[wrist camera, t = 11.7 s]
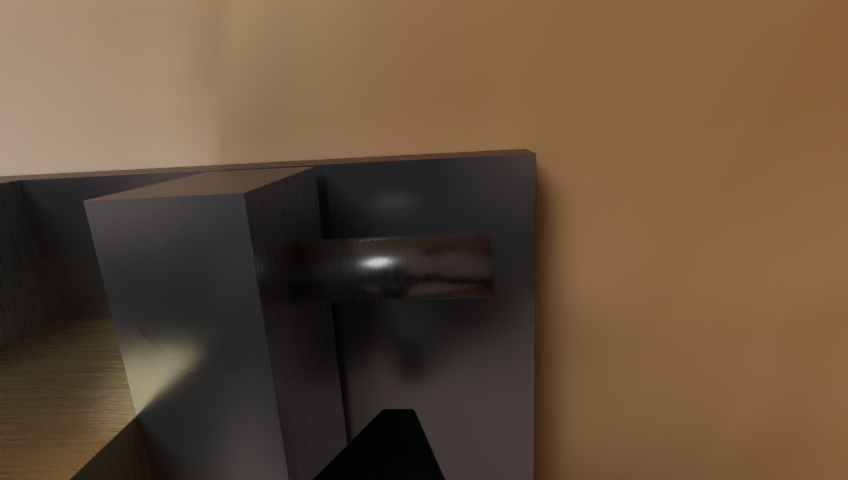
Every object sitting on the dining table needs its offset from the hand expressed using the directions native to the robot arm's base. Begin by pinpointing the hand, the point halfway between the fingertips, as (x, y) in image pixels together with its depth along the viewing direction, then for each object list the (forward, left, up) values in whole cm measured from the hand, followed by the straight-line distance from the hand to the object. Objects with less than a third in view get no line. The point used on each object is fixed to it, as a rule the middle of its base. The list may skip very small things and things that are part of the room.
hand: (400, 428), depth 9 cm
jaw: (+1, 0, -1) cm, 1 cm away
